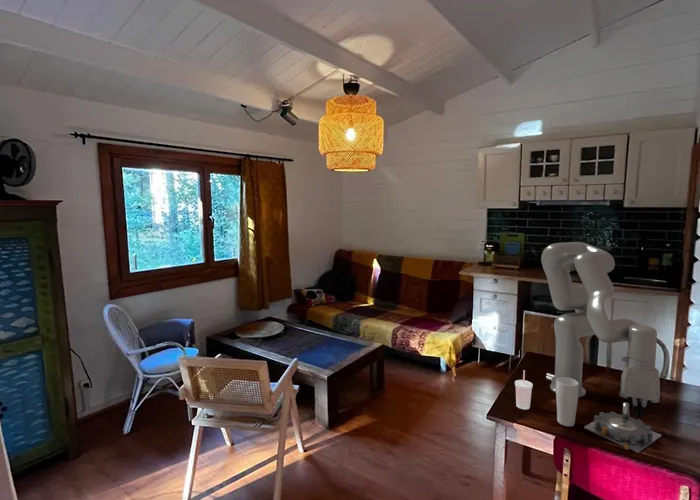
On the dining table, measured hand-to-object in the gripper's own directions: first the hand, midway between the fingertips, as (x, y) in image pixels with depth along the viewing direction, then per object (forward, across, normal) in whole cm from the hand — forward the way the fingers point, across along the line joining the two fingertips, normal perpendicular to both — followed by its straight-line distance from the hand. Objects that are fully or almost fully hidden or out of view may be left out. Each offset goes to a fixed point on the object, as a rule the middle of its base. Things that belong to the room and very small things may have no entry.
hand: (637, 415), depth 131 cm
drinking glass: (+4, -21, -6) cm, 23 cm away
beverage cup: (+4, -35, 0) cm, 35 cm away
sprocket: (+4, -5, -5) cm, 8 cm away
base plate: (+4, -5, -5) cm, 8 cm away
